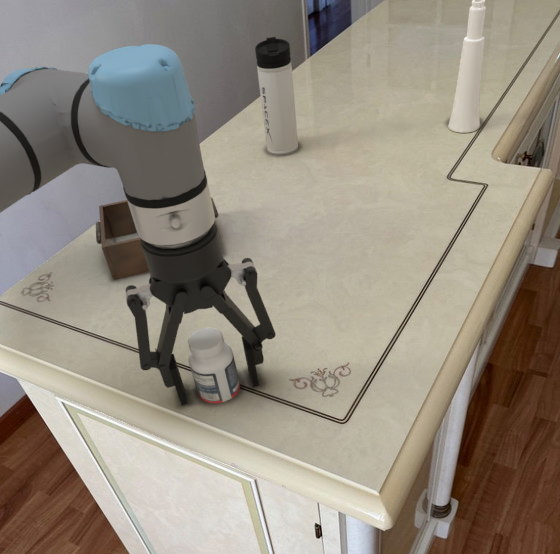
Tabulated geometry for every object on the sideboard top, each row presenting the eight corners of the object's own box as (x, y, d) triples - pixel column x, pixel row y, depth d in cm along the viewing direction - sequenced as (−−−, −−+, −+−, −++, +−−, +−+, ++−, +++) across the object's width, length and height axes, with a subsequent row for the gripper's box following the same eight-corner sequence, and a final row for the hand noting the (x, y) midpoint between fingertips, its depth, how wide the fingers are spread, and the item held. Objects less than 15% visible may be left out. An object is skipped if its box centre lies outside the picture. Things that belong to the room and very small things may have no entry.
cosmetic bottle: (470, 118, 120) (485, -7, 104) (485, 129, 116) (503, 1, 100) (442, 124, 119) (454, -1, 104) (456, 135, 115) (470, 7, 99)
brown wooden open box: (108, 285, 91) (94, 249, 86) (105, 241, 100) (92, 207, 96) (228, 257, 93) (221, 220, 88) (214, 217, 102) (207, 182, 98)
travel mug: (297, 142, 120) (288, 34, 106) (299, 157, 115) (290, 45, 101) (266, 146, 120) (253, 39, 106) (268, 161, 116) (254, 50, 101)
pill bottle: (230, 370, 75) (217, 316, 69) (248, 395, 72) (236, 341, 65) (192, 387, 74) (176, 334, 67) (208, 413, 70) (193, 360, 64)
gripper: (67, 275, 53) (137, 435, 69) (293, 224, 55) (309, 390, 71) (68, 234, 58) (133, 391, 74) (273, 188, 60) (293, 350, 76)
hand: (219, 390), depth 72 cm, fingers open, 8 cm apart
